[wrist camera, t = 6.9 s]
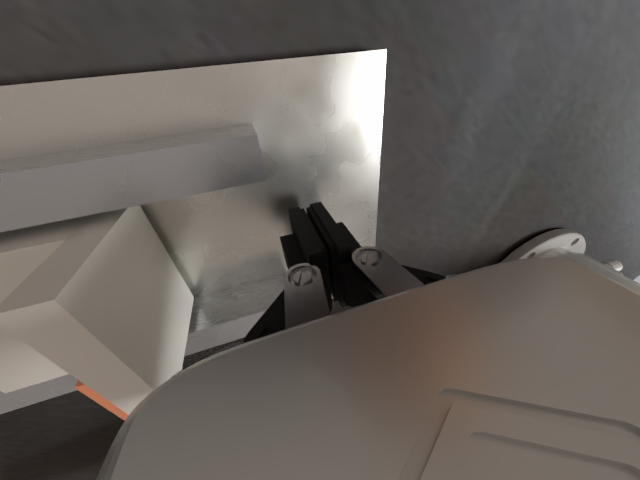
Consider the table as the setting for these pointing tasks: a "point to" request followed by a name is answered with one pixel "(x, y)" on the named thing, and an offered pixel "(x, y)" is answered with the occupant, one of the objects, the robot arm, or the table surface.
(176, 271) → the white stepped block
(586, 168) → the table surface
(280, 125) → the bench
